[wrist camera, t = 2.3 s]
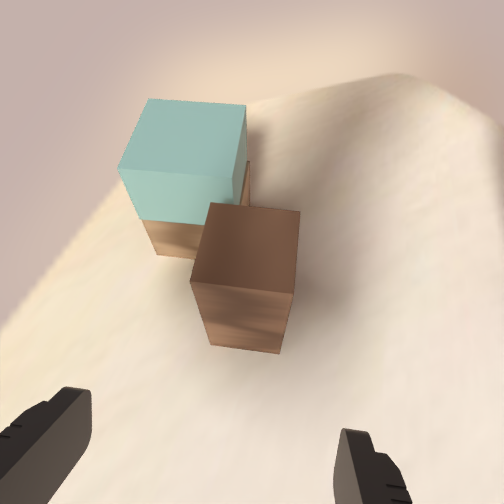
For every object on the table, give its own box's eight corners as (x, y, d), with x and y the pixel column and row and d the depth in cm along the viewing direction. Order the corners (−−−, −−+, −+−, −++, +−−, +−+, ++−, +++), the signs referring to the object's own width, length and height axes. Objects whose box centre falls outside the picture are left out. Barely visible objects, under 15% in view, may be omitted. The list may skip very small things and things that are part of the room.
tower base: (249, 201, 32) (249, 161, 28) (238, 264, 29) (236, 229, 24) (177, 194, 33) (166, 153, 29) (157, 255, 29) (141, 219, 25)
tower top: (246, 159, 28) (246, 105, 24) (235, 227, 24) (231, 177, 20) (163, 153, 29) (148, 98, 24) (139, 219, 25) (116, 168, 21)
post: (285, 291, 27) (300, 211, 19) (279, 354, 25) (293, 294, 16) (223, 283, 28) (210, 201, 19) (210, 344, 25) (189, 281, 16)
